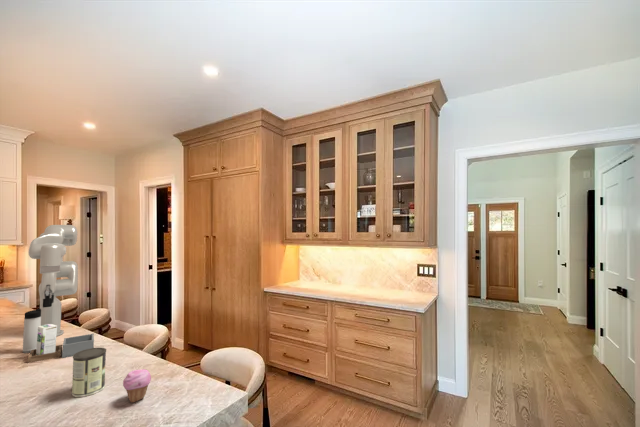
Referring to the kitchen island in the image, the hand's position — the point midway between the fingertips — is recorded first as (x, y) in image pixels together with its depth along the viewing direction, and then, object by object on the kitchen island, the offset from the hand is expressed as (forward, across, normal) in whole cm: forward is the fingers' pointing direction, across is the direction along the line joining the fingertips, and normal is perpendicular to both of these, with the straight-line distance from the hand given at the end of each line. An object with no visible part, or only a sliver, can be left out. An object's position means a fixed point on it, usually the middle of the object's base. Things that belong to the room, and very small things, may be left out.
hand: (48, 305), depth 151 cm
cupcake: (+25, +70, +30) cm, 80 cm away
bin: (+24, +2, +12) cm, 27 cm away
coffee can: (+25, +52, +16) cm, 60 cm away
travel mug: (+24, -13, -6) cm, 28 cm away
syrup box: (+25, 0, 0) cm, 25 cm away
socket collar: (+24, 0, 0) cm, 24 cm away
